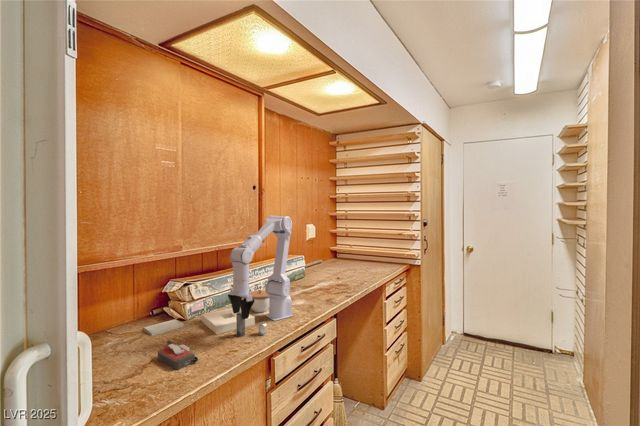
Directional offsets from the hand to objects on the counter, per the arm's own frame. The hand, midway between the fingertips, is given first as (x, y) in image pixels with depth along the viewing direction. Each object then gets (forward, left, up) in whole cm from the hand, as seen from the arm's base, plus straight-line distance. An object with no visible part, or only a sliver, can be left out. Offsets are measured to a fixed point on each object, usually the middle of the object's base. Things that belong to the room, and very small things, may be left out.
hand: (240, 315), depth 120 cm
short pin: (-7, +4, -8) cm, 11 cm away
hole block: (-1, -14, -7) cm, 16 cm away
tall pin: (0, 0, -7) cm, 7 cm away
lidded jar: (-19, -20, -8) cm, 29 cm away
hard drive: (+21, -24, -8) cm, 33 cm away
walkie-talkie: (+24, +2, -8) cm, 25 cm away
